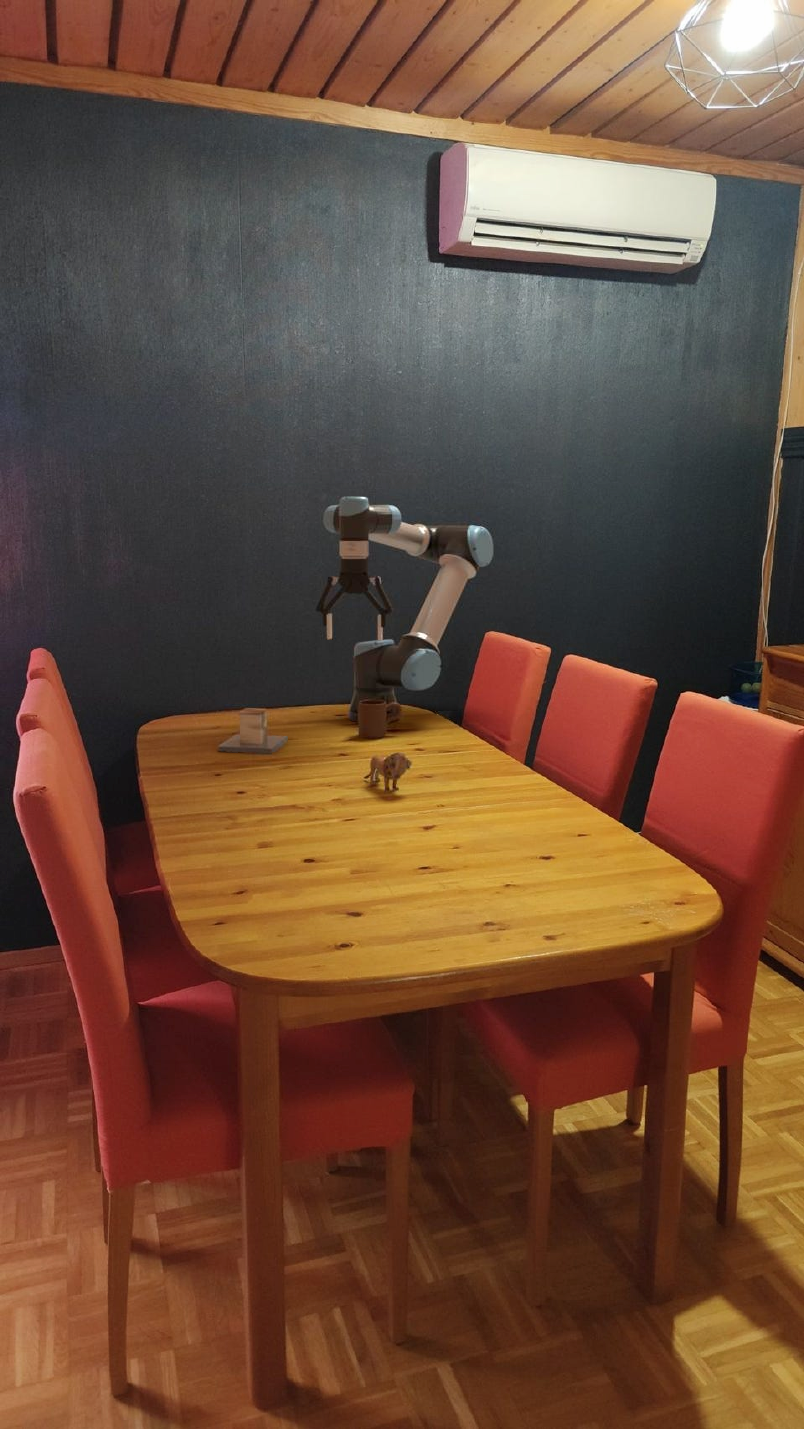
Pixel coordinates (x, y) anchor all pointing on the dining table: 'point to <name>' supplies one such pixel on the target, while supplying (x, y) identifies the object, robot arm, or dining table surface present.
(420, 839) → the dining table surface
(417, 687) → the robot arm
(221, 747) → the slate board
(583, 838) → the dining table surface
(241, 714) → the oak block
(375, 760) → the lion figurine
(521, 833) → the dining table surface
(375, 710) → the mug
